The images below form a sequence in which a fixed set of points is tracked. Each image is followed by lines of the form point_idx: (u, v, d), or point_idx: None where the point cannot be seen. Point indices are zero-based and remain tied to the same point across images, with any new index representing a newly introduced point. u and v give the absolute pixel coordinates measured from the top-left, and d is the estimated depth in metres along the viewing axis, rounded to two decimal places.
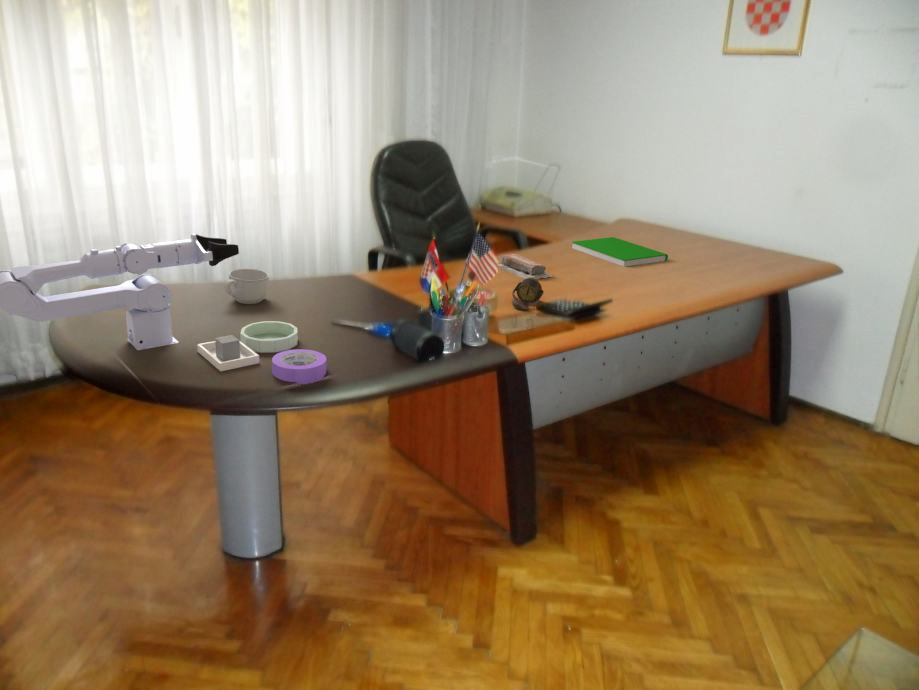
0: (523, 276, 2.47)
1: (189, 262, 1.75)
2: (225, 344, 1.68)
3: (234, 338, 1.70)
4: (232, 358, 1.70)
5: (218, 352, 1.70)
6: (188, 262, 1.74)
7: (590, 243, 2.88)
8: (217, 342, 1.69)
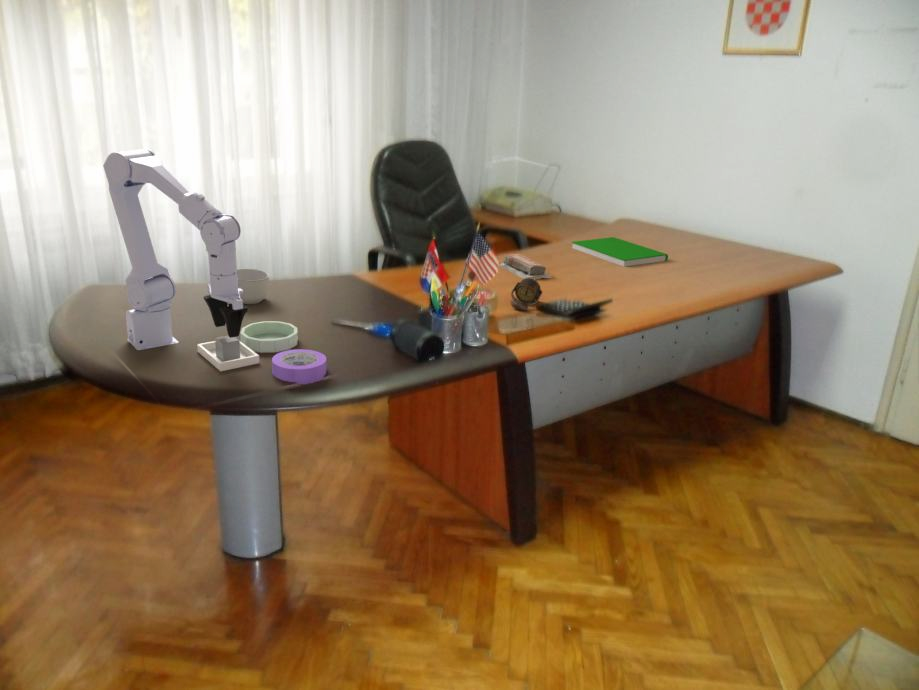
0: (521, 276, 2.47)
1: (218, 287, 1.62)
2: (225, 344, 1.68)
3: (234, 338, 1.70)
4: (232, 358, 1.70)
5: (218, 352, 1.70)
6: (218, 286, 1.62)
7: (590, 243, 2.88)
8: (217, 342, 1.69)
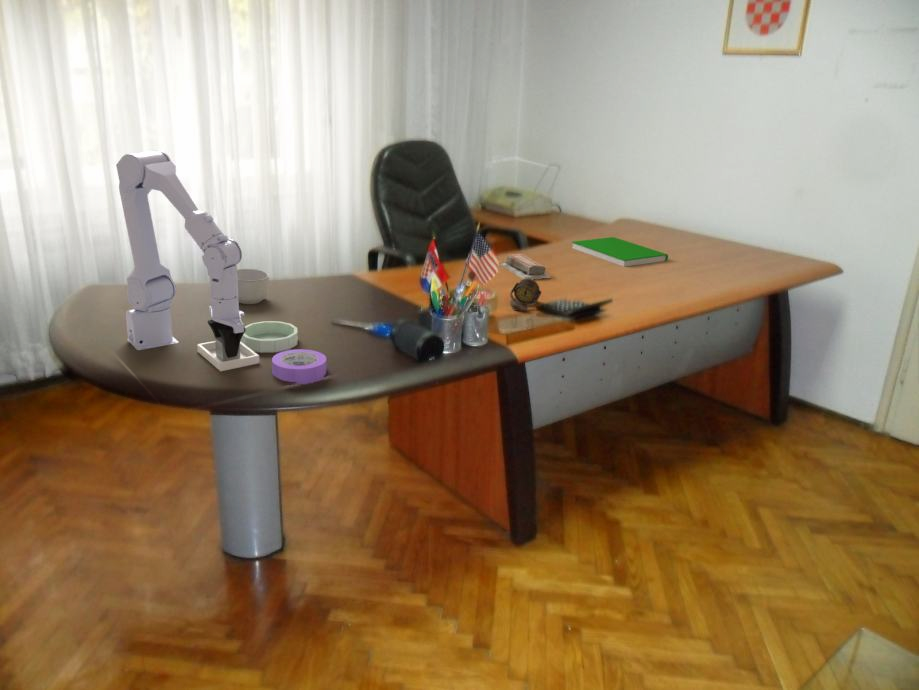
0: (520, 275, 2.47)
1: (219, 310, 1.64)
2: None
3: None
4: (232, 358, 1.70)
5: (218, 352, 1.70)
6: (220, 309, 1.64)
7: (590, 243, 2.88)
8: (217, 342, 1.69)
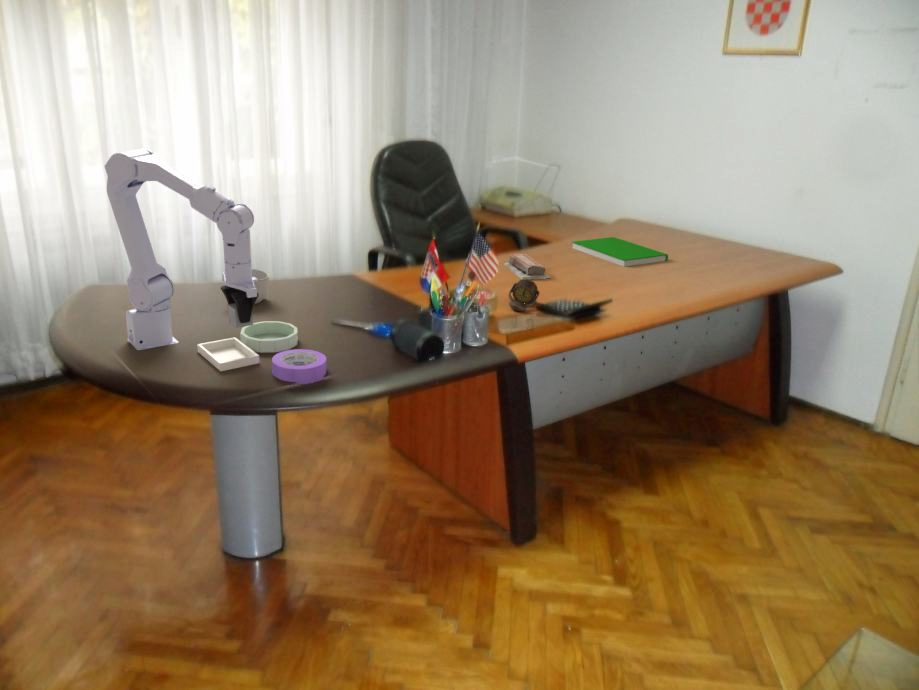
0: (519, 275, 2.47)
1: (233, 275, 1.65)
2: None
3: None
4: (245, 324, 1.70)
5: (231, 318, 1.71)
6: (233, 274, 1.65)
7: (590, 243, 2.88)
8: (230, 308, 1.70)
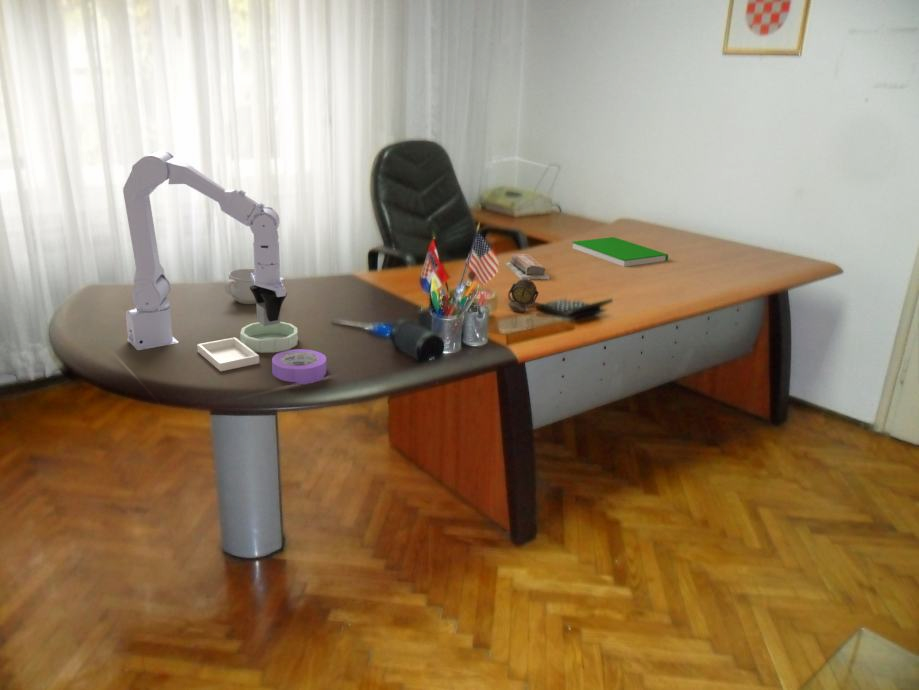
0: (518, 275, 2.48)
1: (262, 275, 1.72)
2: None
3: None
4: (272, 323, 1.78)
5: (259, 317, 1.78)
6: (262, 274, 1.72)
7: (590, 243, 2.88)
8: (258, 307, 1.77)
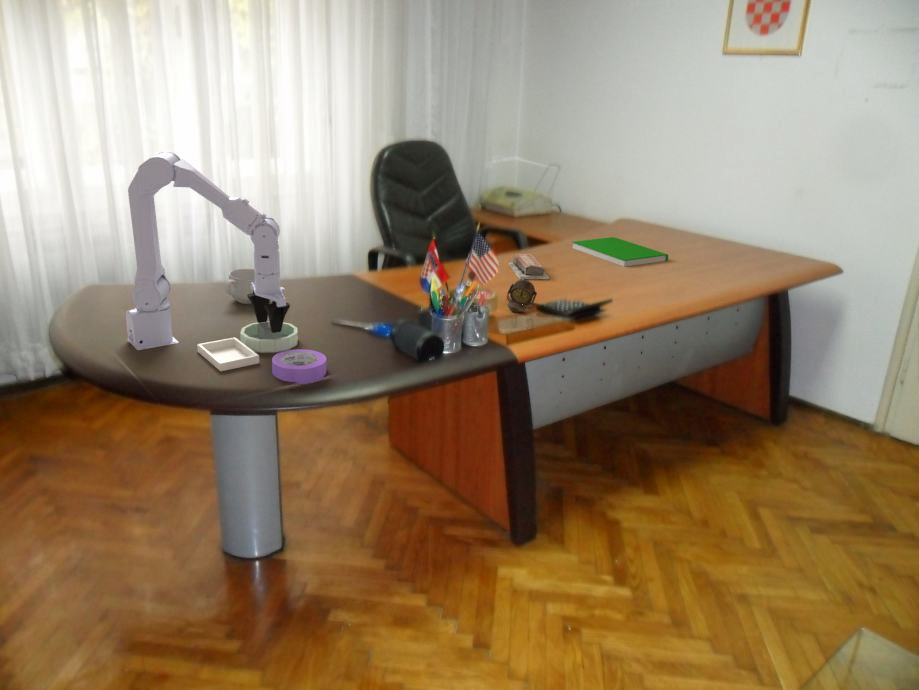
0: (517, 275, 2.48)
1: (263, 285, 1.73)
2: (267, 329, 1.77)
3: None
4: None
5: (260, 337, 1.80)
6: (263, 284, 1.73)
7: (590, 243, 2.88)
8: (259, 327, 1.79)
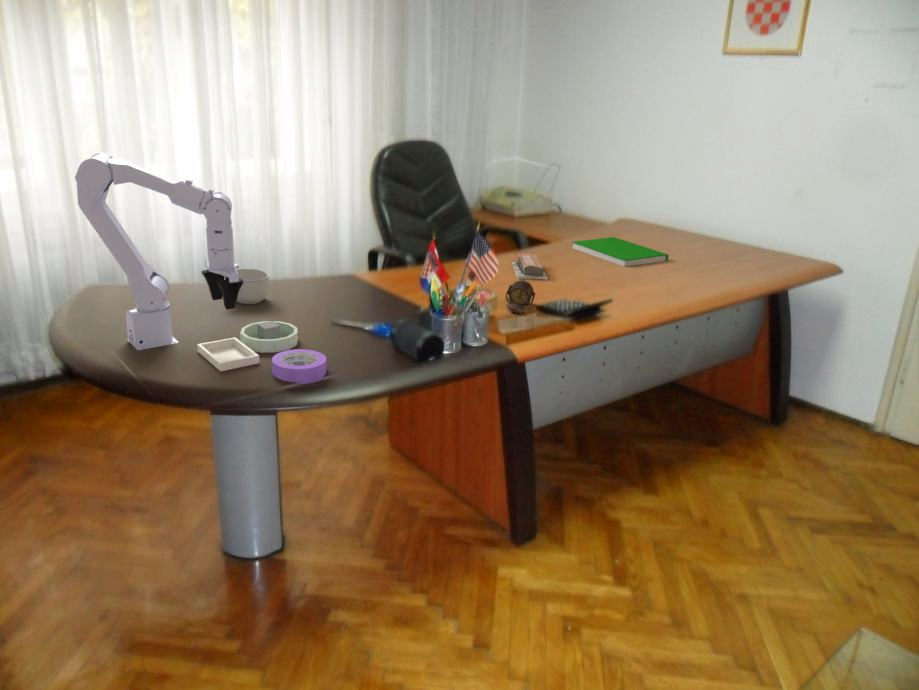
0: (516, 274, 2.48)
1: (215, 261, 1.72)
2: (267, 329, 1.77)
3: (275, 324, 1.80)
4: None
5: (260, 337, 1.80)
6: (215, 260, 1.72)
7: (590, 243, 2.88)
8: (259, 327, 1.79)
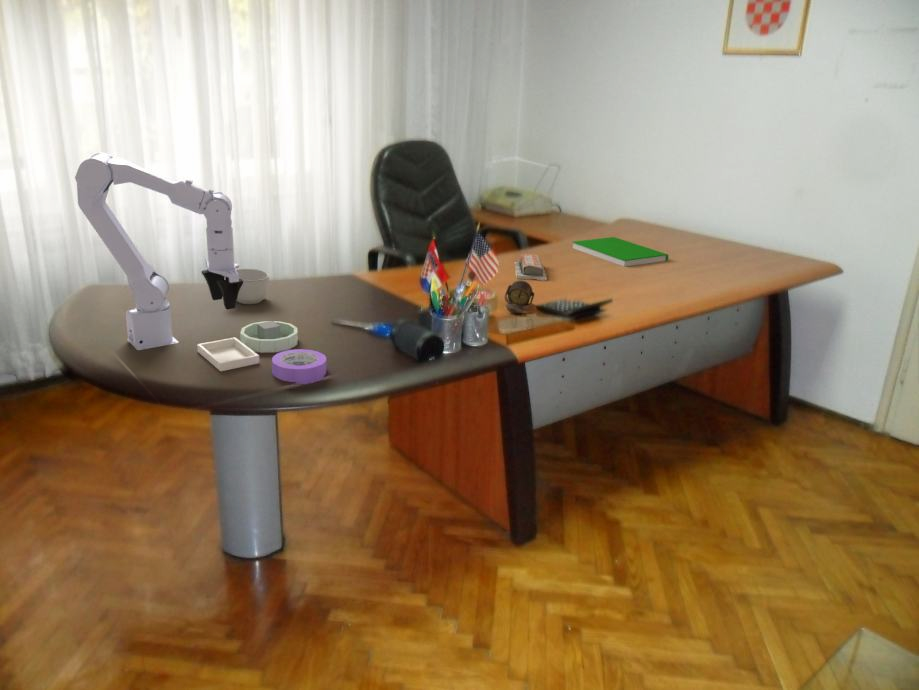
0: (516, 274, 2.48)
1: (215, 261, 1.72)
2: (267, 329, 1.77)
3: (275, 324, 1.80)
4: None
5: (260, 337, 1.80)
6: (215, 260, 1.72)
7: (590, 243, 2.88)
8: (259, 327, 1.79)
